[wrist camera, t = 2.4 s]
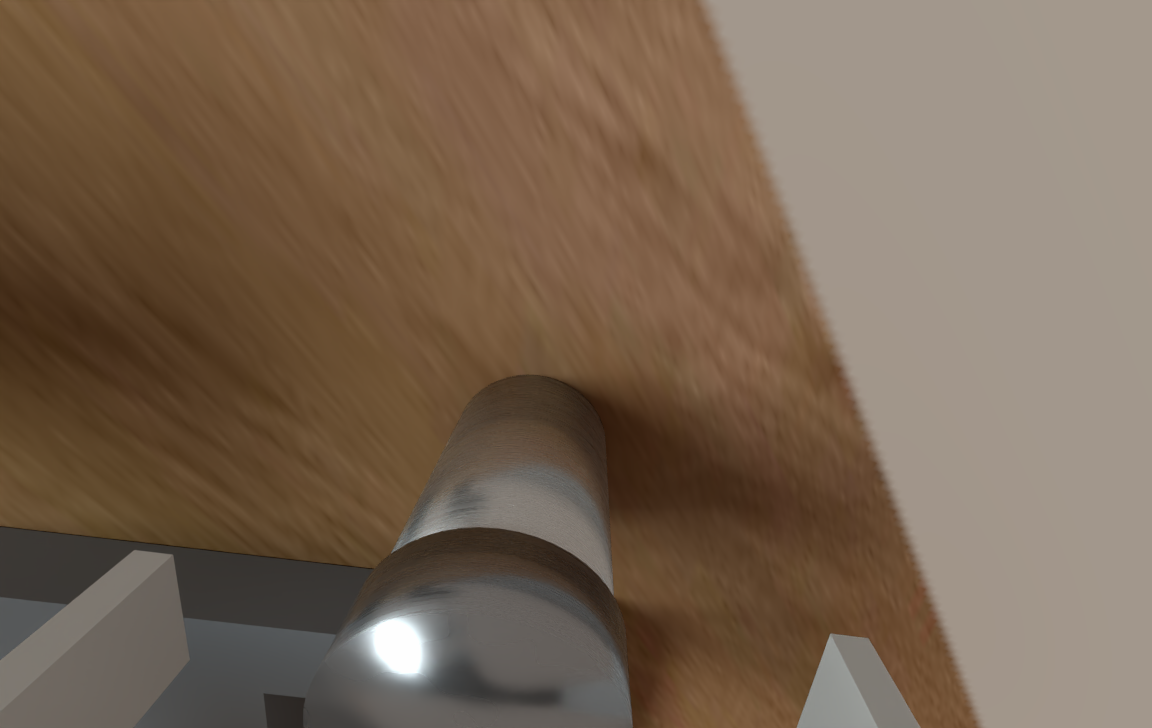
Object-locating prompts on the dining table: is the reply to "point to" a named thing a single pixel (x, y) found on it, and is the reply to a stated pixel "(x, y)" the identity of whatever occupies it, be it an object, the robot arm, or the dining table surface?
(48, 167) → the dining table surface
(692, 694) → the dining table surface
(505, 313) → the dining table surface
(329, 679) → the metal cylinder
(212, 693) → the housing
